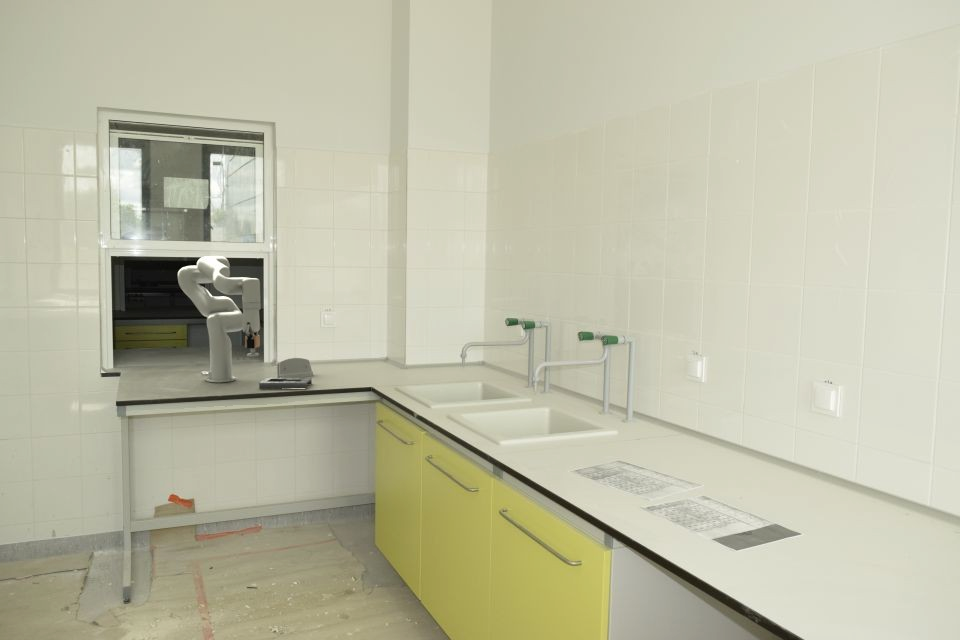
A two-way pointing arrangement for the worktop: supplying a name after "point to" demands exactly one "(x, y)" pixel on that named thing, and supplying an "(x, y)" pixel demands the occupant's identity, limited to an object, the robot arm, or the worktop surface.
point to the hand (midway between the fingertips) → (252, 347)
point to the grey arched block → (294, 368)
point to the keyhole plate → (284, 383)
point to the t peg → (257, 344)
